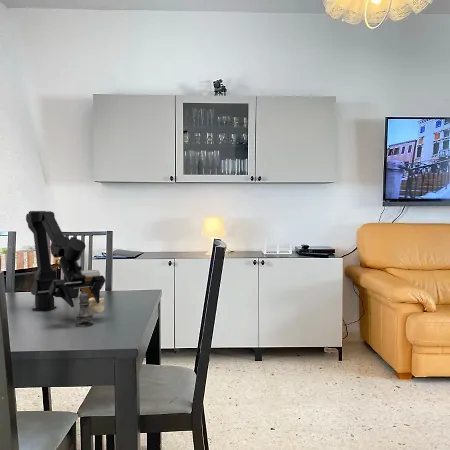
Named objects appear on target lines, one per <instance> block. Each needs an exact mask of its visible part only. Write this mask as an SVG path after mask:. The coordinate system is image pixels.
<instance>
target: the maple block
mask: <svg viewBox="0 0 450 450" xmlns="http://www.w3.org/2000/svg"><path fill="white" fill-rule="evenodd" d="M89 303H90V304H89V311H90V312H91V313H93V314H101V313H102V312H104V311H105V298H104V297H100V298H99V304H97V302H96V300H95V298H90V299H89Z"/></svg>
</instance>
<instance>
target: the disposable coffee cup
mask: <svg viewBox="0 0 450 450" xmlns="http://www.w3.org/2000/svg"><path fill="white" fill-rule="evenodd" d="M81 272H82V274H83V275H85V276H86V278H85V281H91V279H92V277H93V276H100V275H101V272H100V269H99V270H98V269H84V270H81ZM80 290H81V291H80V293H83V291H84V290H85V292H86V293H88V295H89V299H90V298H94V295H93V293H90V292H91V290H90V289H89V287H84V288H80Z"/></svg>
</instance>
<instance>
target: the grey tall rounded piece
mask: <svg viewBox="0 0 450 450" xmlns="http://www.w3.org/2000/svg"><path fill="white" fill-rule="evenodd" d="M89 304H90V303H89V295H88V293H86V292H85V290H84V291H83V293H82V292H80V295H79V303H78V305H79V312H78V313H76V314H75V317H76V320H77V321H78V323H76V327H80V328H82V327H83V328H85V327H91V326H93V322H91V320H92V319H93V316H94V313H91V312H90V311H89Z"/></svg>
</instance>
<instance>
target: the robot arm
mask: <svg viewBox="0 0 450 450" xmlns="http://www.w3.org/2000/svg"><path fill="white" fill-rule="evenodd" d="M25 221H26V223H27V228H28V229H29V231H30V232H31V233H32V234H33V241H34V249H35V250H34V251H35V258H36V265H37V270H36V272H35V274H34V277H33V278H34V279H33V280H34V281H33V282H32V285H31V288H30V293H31V295H33V296H34V306H35V307H33V308H32V311H44V312H47V311H50V310H54V309H57V306H56V305H55V298H60V299H63V300H64V301H65V303H66V304H68V305H69V306H70V308H74V307H75V304H74V300H73V299H77V298H78V297H79V296H80V295H79V293H80V290H81V288H84V287H89V289H90V290H91V292H90V293H93V295H94V298H95V300H96V302H97V304H99V298H101V297H100V294H101V293H100V291H101V290H102V289H103V286H104V285H105V283H106V278H105V276H104V275H101V274H100V276H93V277H92V279H91V281H85V278H86V276H85V275H83V274H82V272H81V271H82V270H83V267H82V266H81V265H79V263H78V261H79V260H81V258H82V255H83V253H84V251H85V249H86V243H85V242H84V241H83V240H81V239H79V238H77V236H71V237H67V236H65V235H64V234H63V231H62V229H61V227H60V225H59V224H58V221H57V219H56V217H55V213H54V212H53V211H50V210H49V211H48V210H47V211H46V210H30V211H28V213H26V216H25ZM48 238H49V240H50V243H51V244H50V250H49V244H48V243H49V242H48ZM50 254H51V255H52V256H53V258H60V259H59V261H58V262H59V264H58V269H61V270H62V273H63V277H62V279H58V277H57V271H56V270H55V269H53V268H52V267H51V260H50Z"/></svg>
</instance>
